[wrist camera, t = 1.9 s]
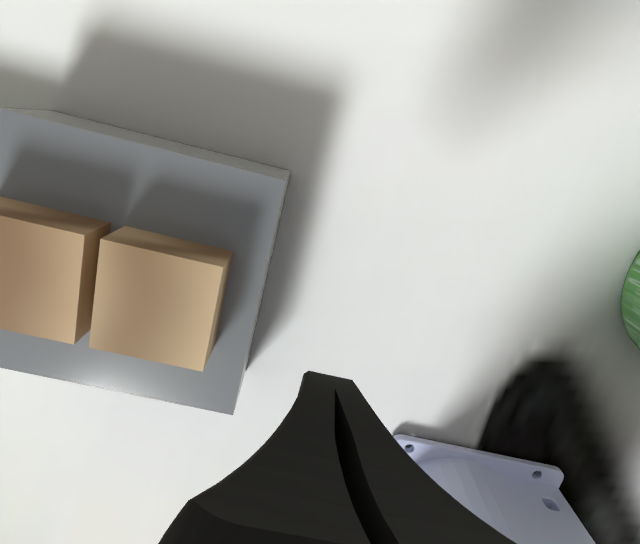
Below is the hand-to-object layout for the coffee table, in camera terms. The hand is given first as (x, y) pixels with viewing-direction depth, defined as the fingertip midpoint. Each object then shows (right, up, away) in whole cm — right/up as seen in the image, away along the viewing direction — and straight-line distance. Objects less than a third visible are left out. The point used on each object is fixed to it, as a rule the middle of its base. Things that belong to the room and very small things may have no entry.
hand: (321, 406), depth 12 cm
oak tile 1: (-6, +3, +5) cm, 8 cm away
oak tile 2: (-10, +4, +5) cm, 12 cm away
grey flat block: (-7, +5, +8) cm, 12 cm away
